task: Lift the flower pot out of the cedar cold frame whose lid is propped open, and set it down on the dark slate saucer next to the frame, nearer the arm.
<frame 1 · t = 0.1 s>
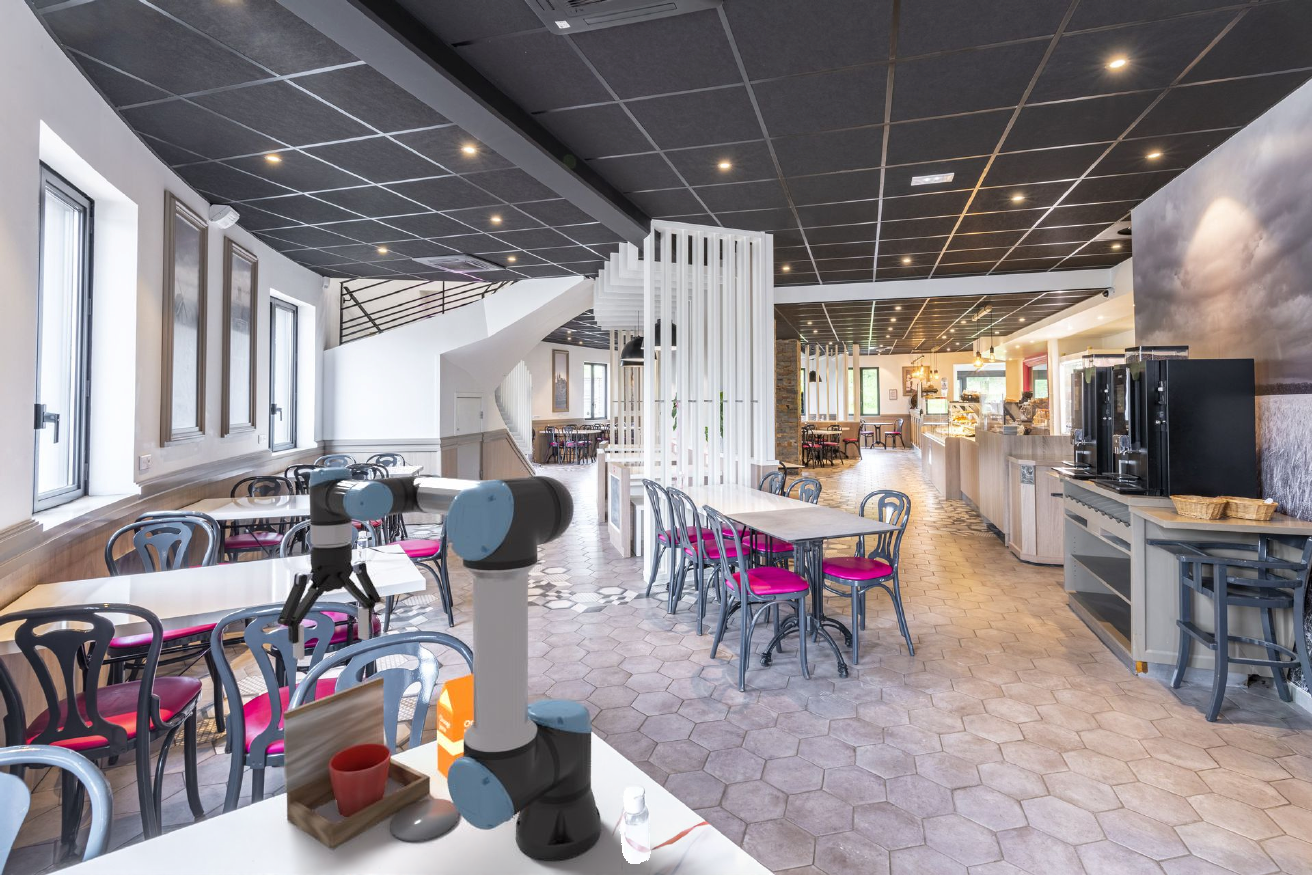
hand: (332, 648, 132), 28 cm above the table, tool pointing down, fingers open, 13 cm apart
flower pot: (360, 807, 125), resting in cold frame
orange juice: (464, 770, 138), on the table
cold frame: (360, 806, 125), on the table
slate saucer: (425, 820, 121), on the table
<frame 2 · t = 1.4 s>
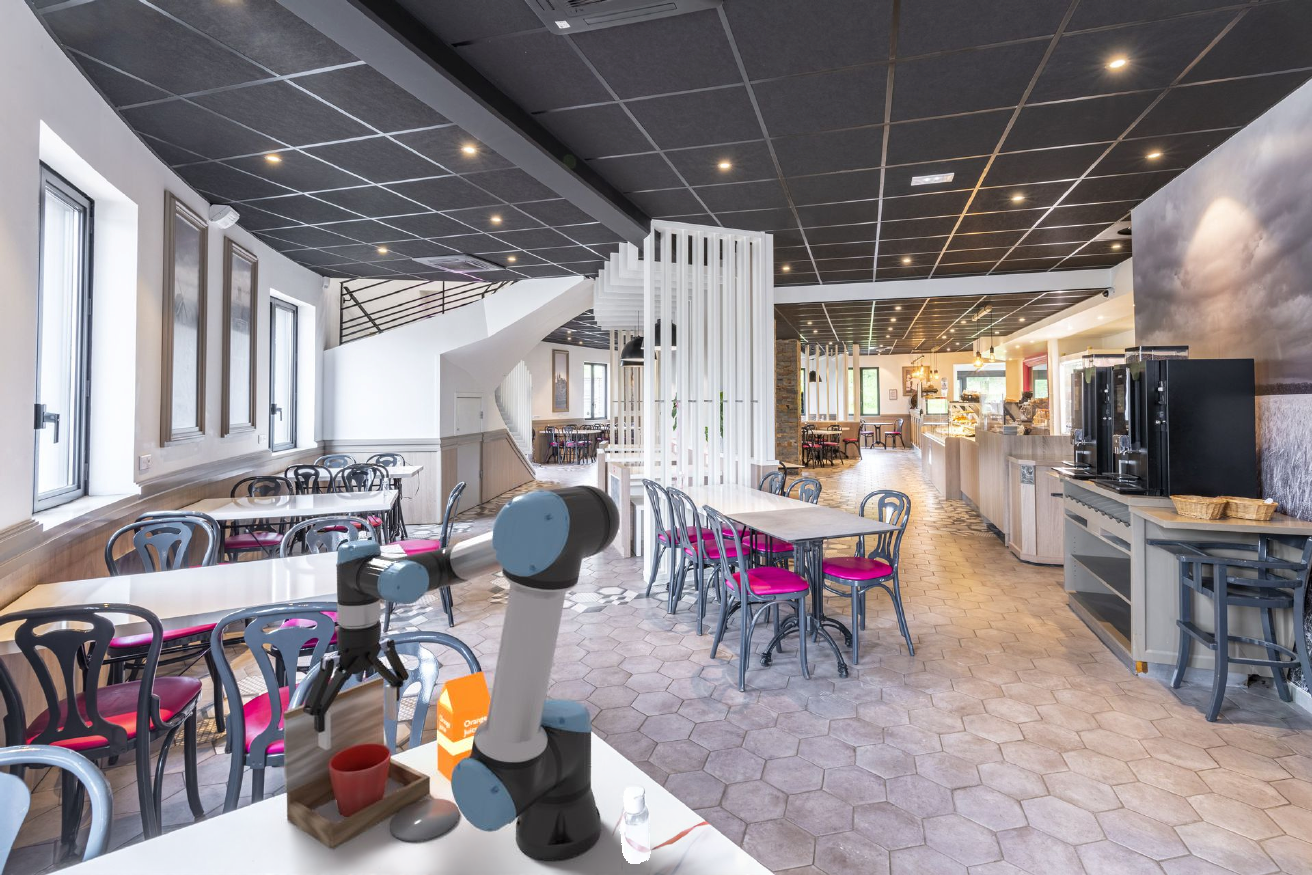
hand: (359, 732, 125), 14 cm above the table, tool pointing down, fingers open, 13 cm apart
nothing on the table moved.
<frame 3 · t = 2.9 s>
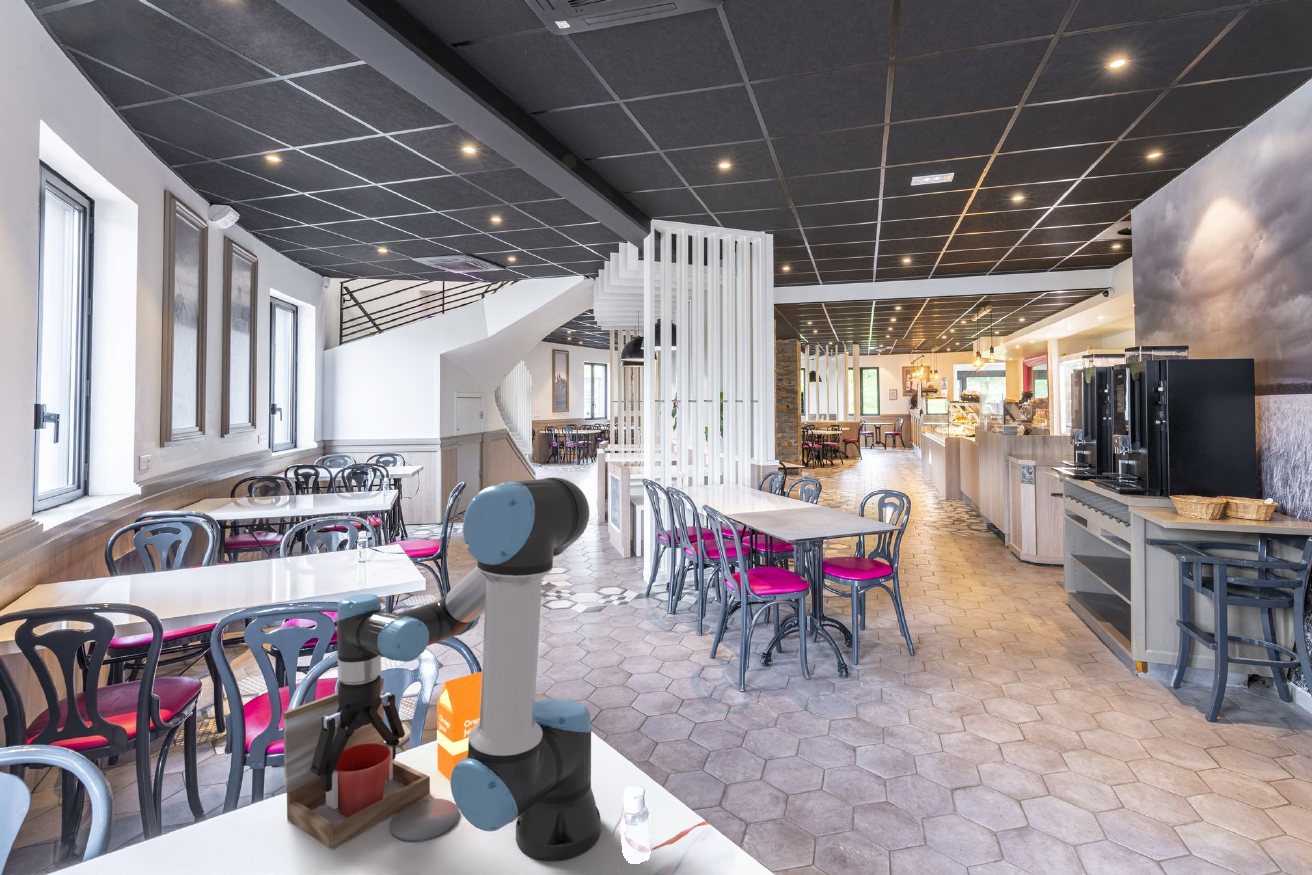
hand: (360, 790, 125), 3 cm above the table, tool pointing down, fingers closed on flower pot, 11 cm apart
flower pot: (360, 807, 125), resting in cold frame, touching gripper
everything else where it was.
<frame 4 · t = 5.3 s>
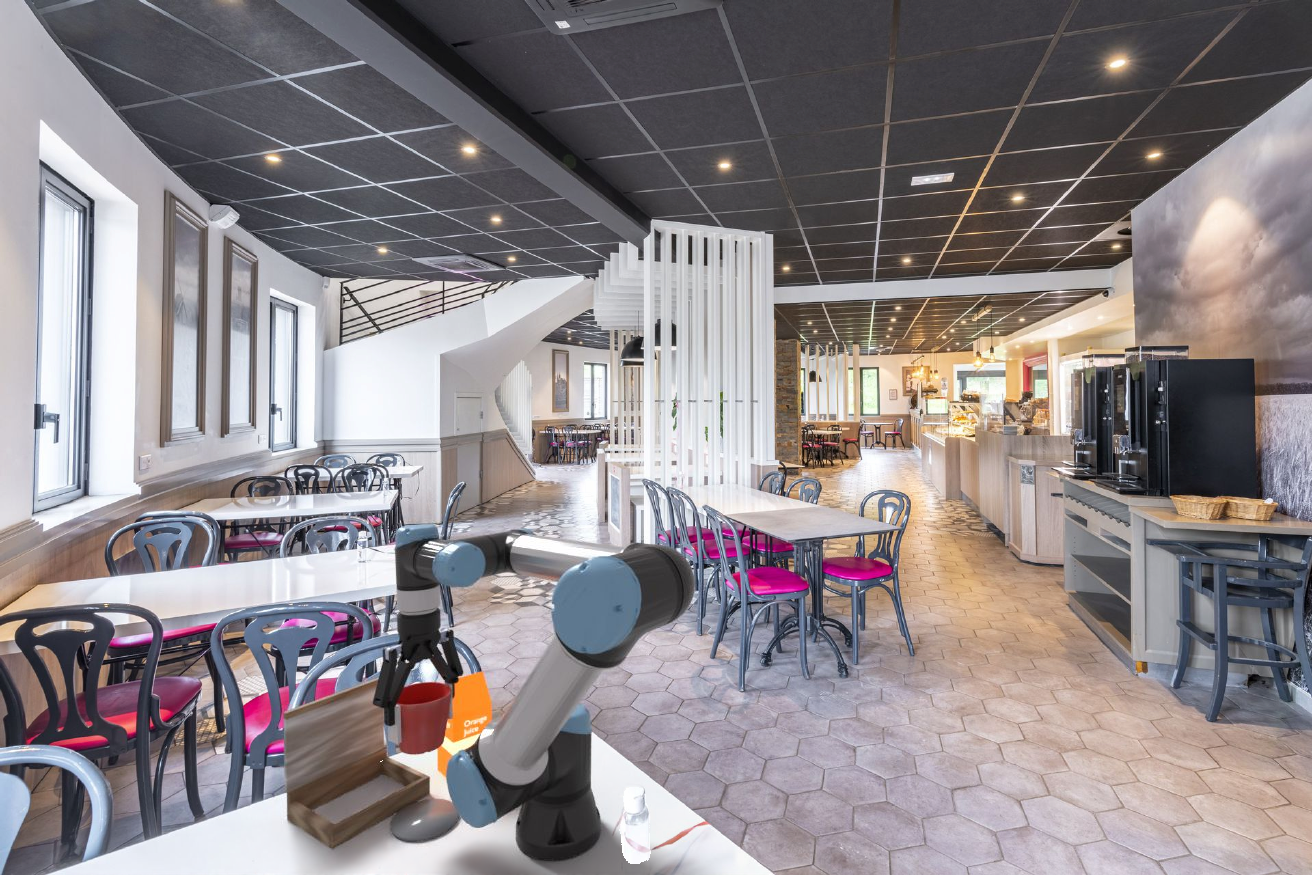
hand: (421, 728, 120), 17 cm above the table, tool pointing down, fingers closed on flower pot, 11 cm apart
flower pot: (422, 746, 120), point 14 cm above the table, touching gripper
everything else where it was.
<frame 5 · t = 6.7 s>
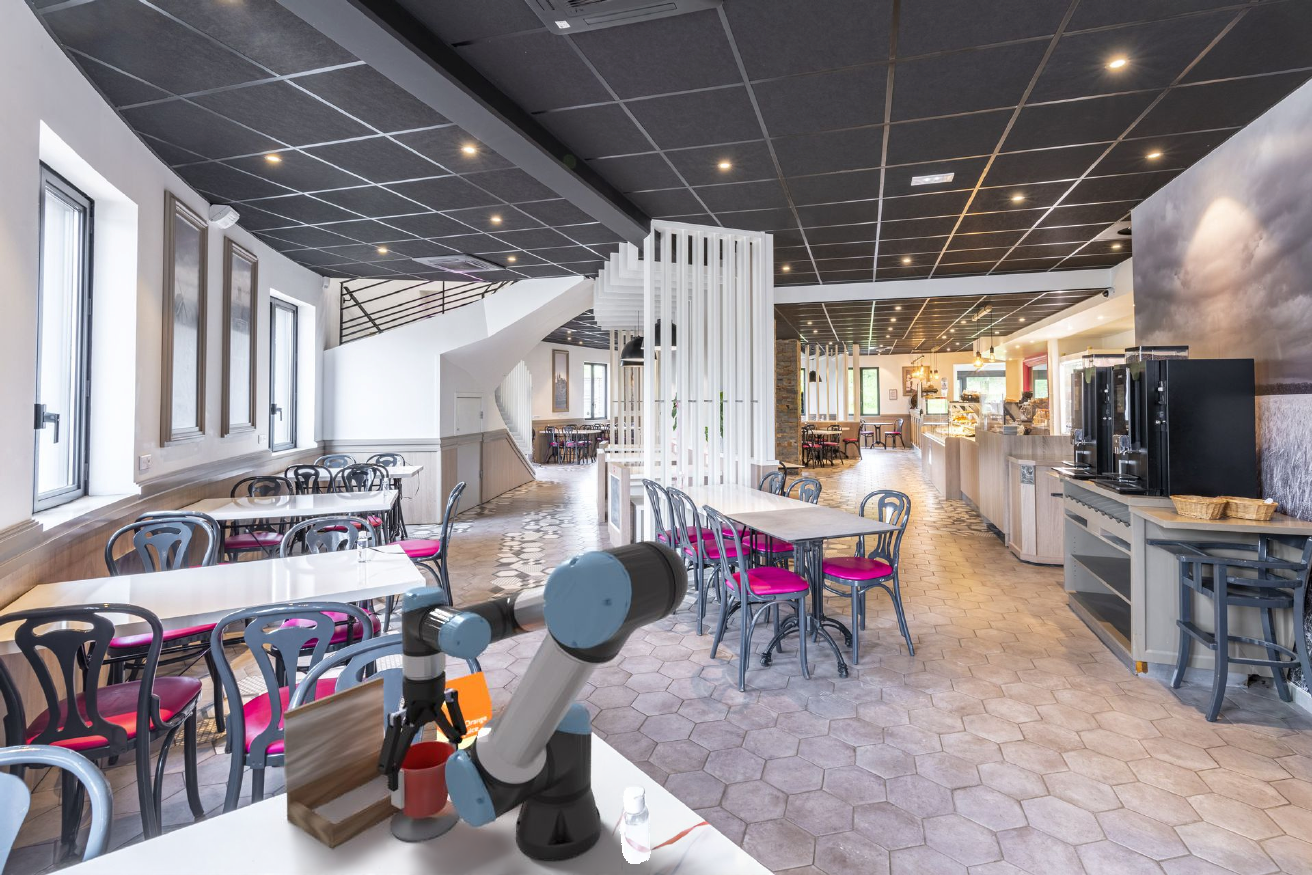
hand: (424, 790, 120), 6 cm above the table, tool pointing down, fingers closed on flower pot, 11 cm apart
flower pot: (424, 807, 120), point 2 cm above the table, touching gripper
everything else where it was.
when the fingers open (4 cm above the table, at t = 7.7 s): flower pot stays where it is, resting on slate saucer.
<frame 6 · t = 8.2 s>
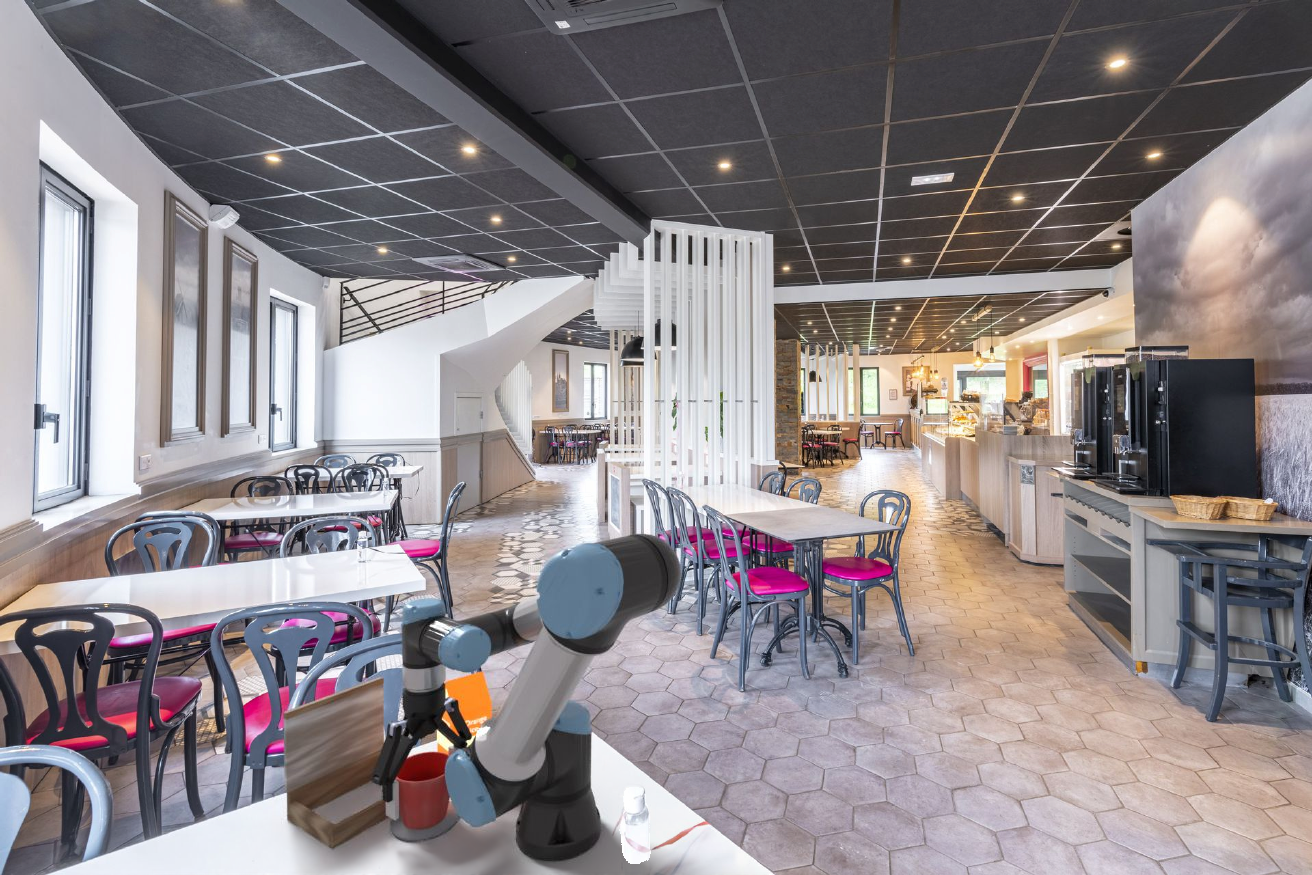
hand: (425, 798, 120), 4 cm above the table, tool pointing down, fingers open, 13 cm apart
flower pot: (424, 818, 121), resting on slate saucer
everything else where it was.
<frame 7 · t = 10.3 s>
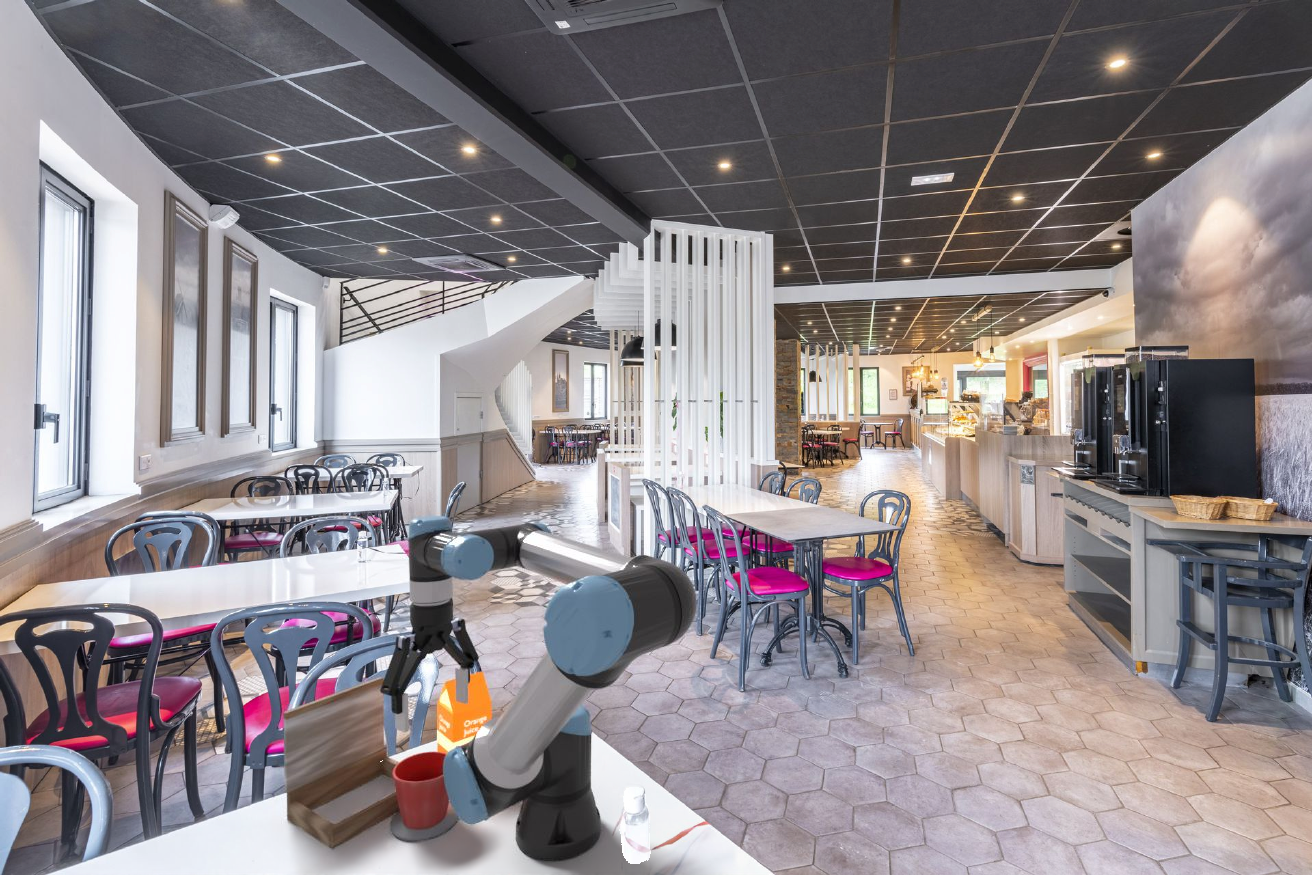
hand: (433, 715, 120), 20 cm above the table, tool pointing down, fingers open, 13 cm apart
nothing on the table moved.
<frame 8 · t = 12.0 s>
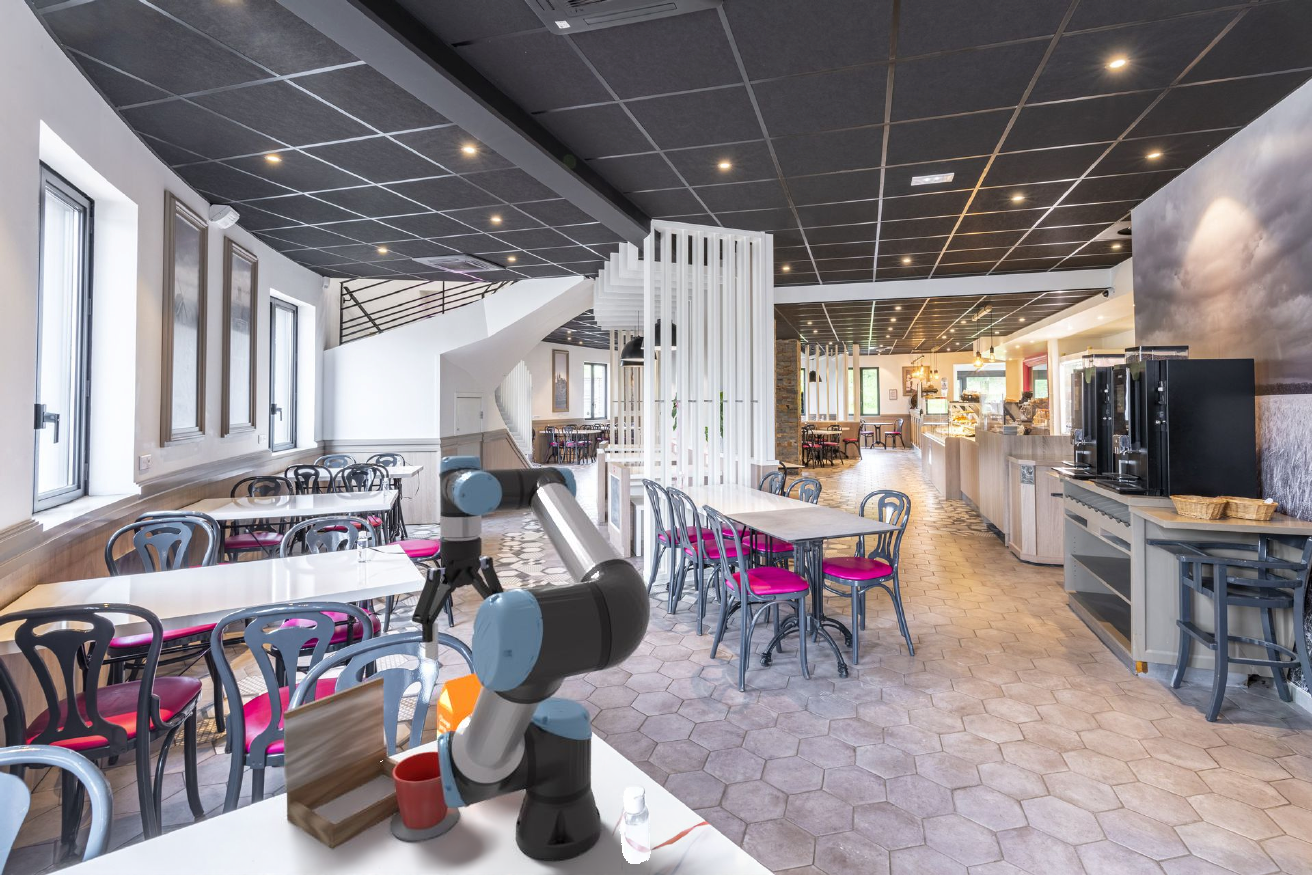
hand: (461, 647, 124), 31 cm above the table, tool pointing down, fingers open, 13 cm apart
nothing on the table moved.
at the end: flower pot 0.1 cm from the slate saucer (horizontally); flower pot tilted 0°; flower pot resting on slate saucer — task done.
